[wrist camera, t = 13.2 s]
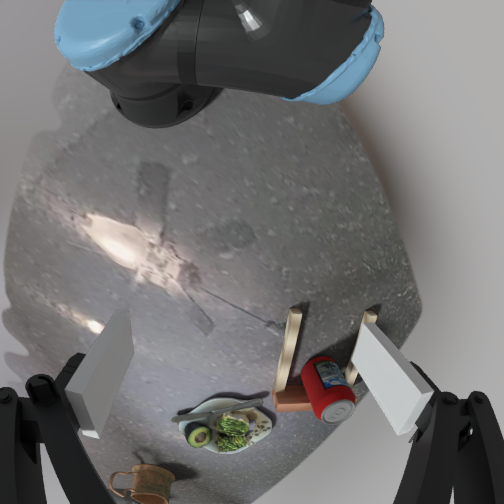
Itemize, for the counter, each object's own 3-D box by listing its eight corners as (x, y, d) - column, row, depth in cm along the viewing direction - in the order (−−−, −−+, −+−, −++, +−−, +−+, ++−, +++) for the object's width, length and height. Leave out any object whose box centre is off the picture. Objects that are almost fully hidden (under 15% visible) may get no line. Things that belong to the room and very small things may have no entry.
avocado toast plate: (230, 371, 46) (230, 388, 41) (293, 415, 50) (297, 430, 46) (163, 418, 48) (159, 434, 44) (226, 453, 52) (226, 468, 48)
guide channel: (289, 308, 43) (297, 323, 39) (372, 310, 45) (385, 323, 40) (271, 393, 48) (276, 411, 43) (344, 390, 49) (353, 406, 45)
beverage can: (342, 363, 47) (367, 405, 36) (316, 387, 48) (336, 431, 37) (317, 347, 46) (341, 391, 34) (291, 373, 47) (308, 420, 35)
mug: (130, 447, 50) (121, 485, 38) (184, 478, 54) (181, 514, 43) (106, 457, 51) (96, 490, 39) (157, 486, 55) (152, 518, 44)
